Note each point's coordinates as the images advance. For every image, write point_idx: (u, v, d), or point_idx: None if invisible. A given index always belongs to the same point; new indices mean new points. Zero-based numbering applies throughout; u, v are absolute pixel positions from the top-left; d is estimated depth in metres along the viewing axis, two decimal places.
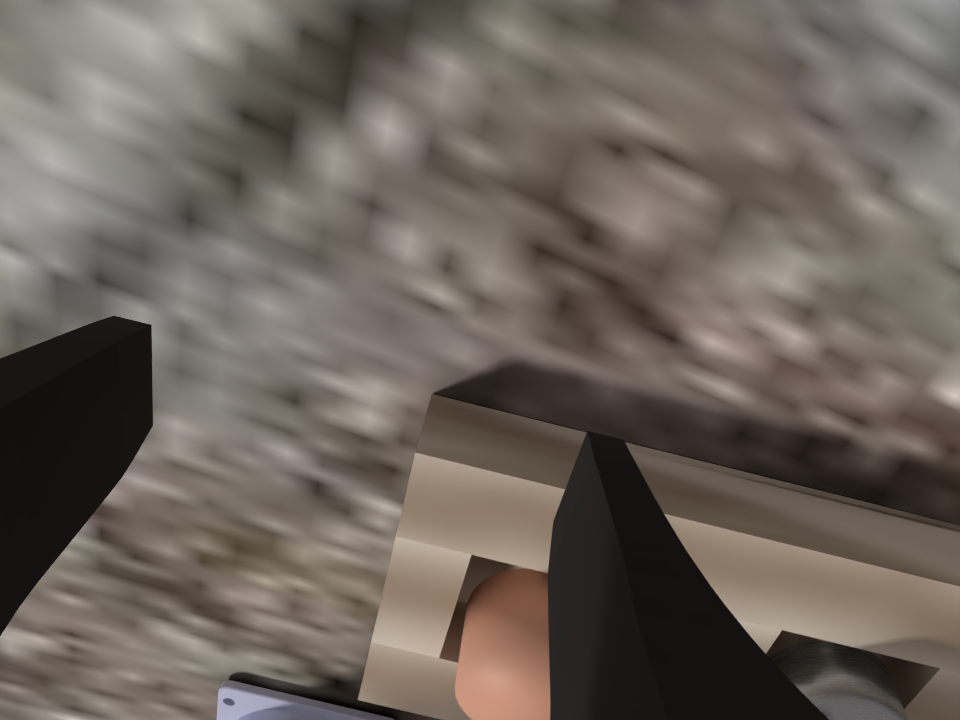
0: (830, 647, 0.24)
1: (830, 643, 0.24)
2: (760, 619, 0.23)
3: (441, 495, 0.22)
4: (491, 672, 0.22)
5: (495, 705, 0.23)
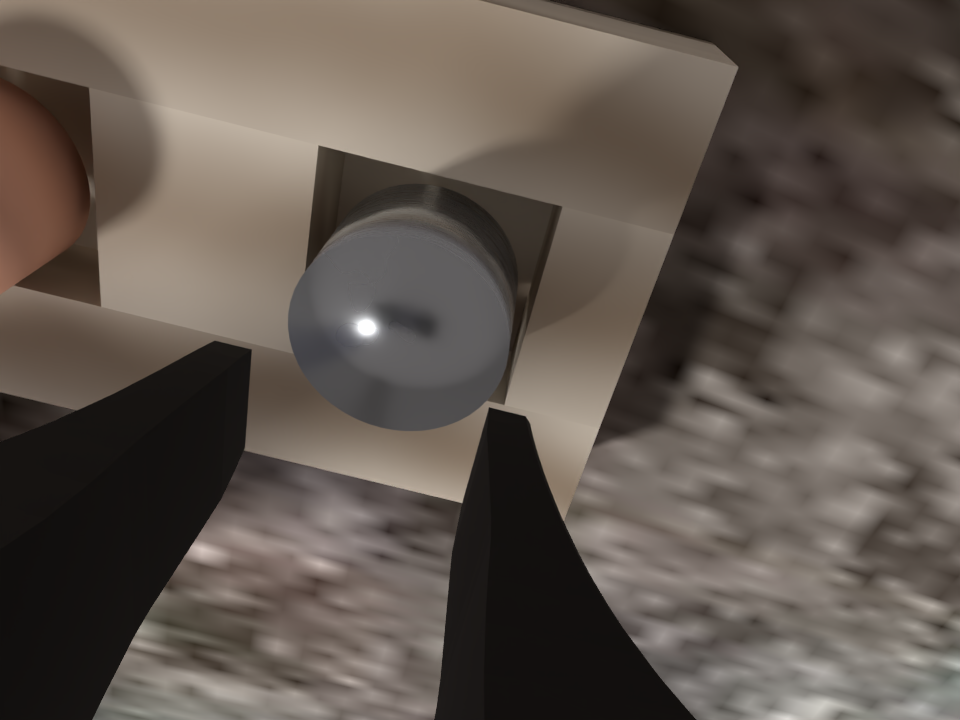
0: (406, 187, 0.16)
1: (410, 184, 0.16)
2: (281, 124, 0.15)
3: None
4: None
5: None
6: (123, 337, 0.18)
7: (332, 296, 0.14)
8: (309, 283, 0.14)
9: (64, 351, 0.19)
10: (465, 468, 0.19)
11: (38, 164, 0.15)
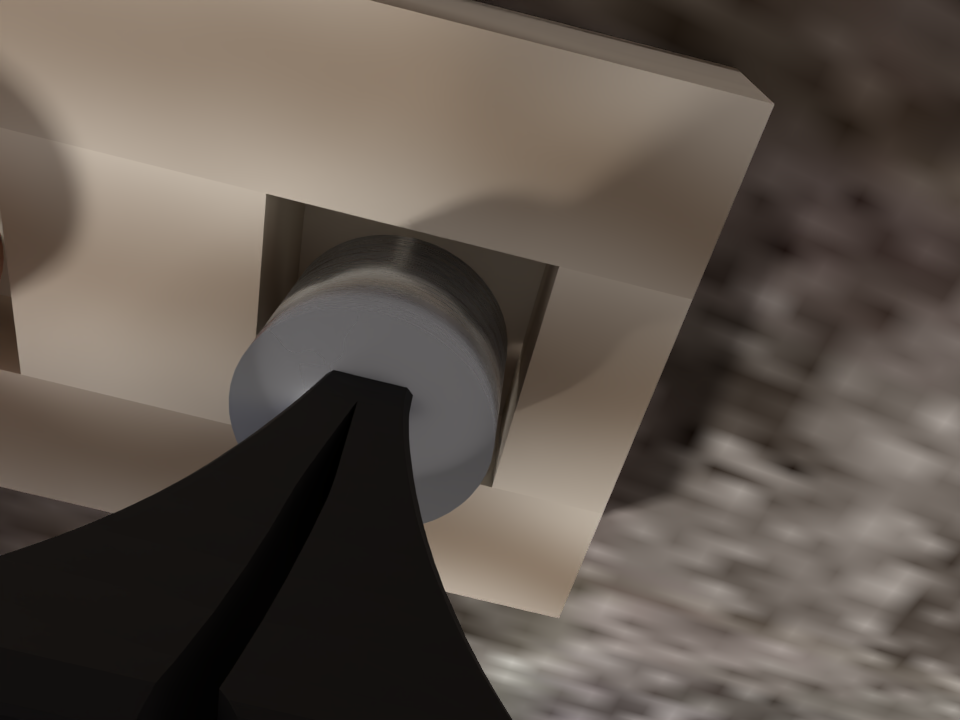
0: (374, 239, 0.14)
1: (379, 236, 0.14)
2: (220, 169, 0.13)
3: None
4: None
5: None
6: (49, 408, 0.16)
7: (280, 378, 0.12)
8: (253, 363, 0.12)
9: None
10: (448, 554, 0.17)
11: None
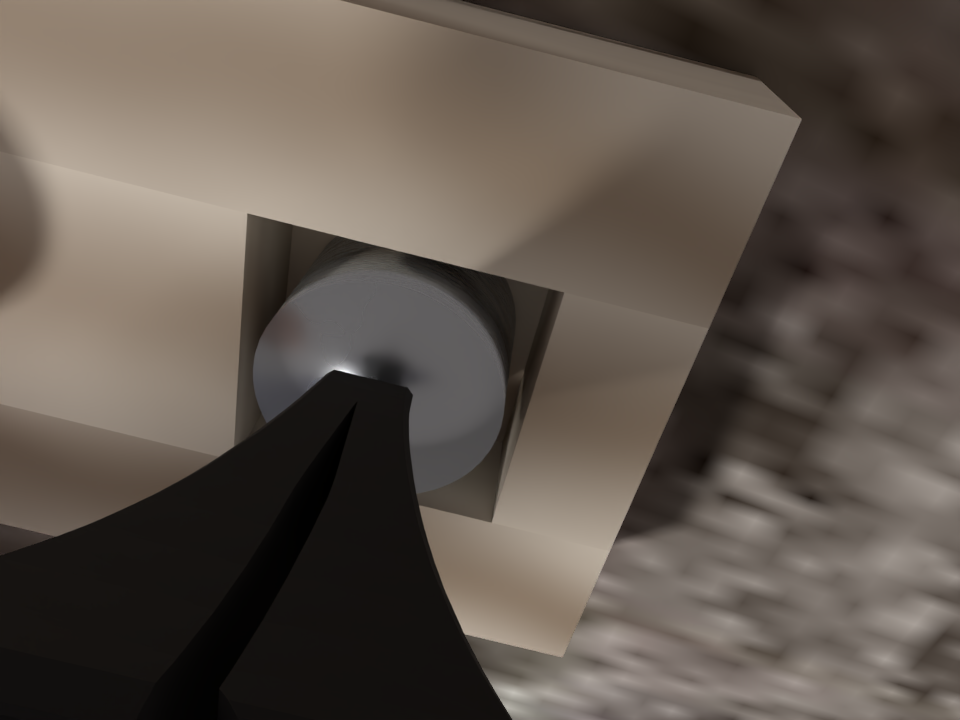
0: None
1: None
2: (197, 187, 0.12)
3: None
4: None
5: None
6: (21, 436, 0.15)
7: (302, 348, 0.13)
8: (277, 334, 0.13)
9: None
10: (445, 591, 0.16)
11: None
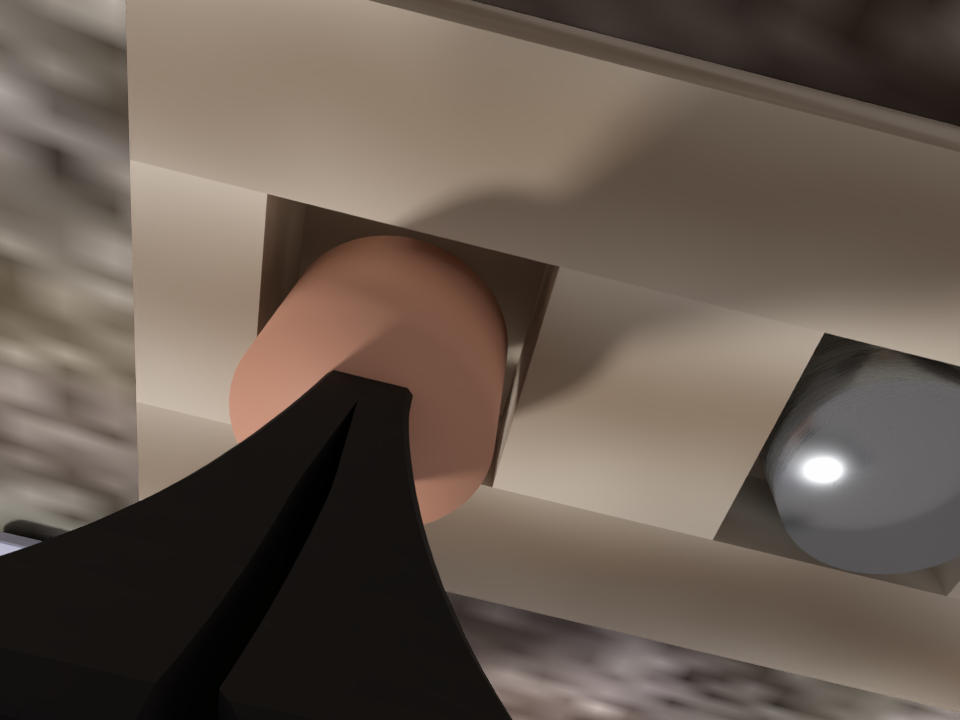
0: None
1: None
2: (785, 310, 0.13)
3: (189, 47, 0.12)
4: (287, 378, 0.12)
5: None
6: (509, 518, 0.16)
7: (845, 449, 0.14)
8: (825, 437, 0.14)
9: (432, 529, 0.17)
10: (873, 655, 0.17)
11: (498, 353, 0.13)
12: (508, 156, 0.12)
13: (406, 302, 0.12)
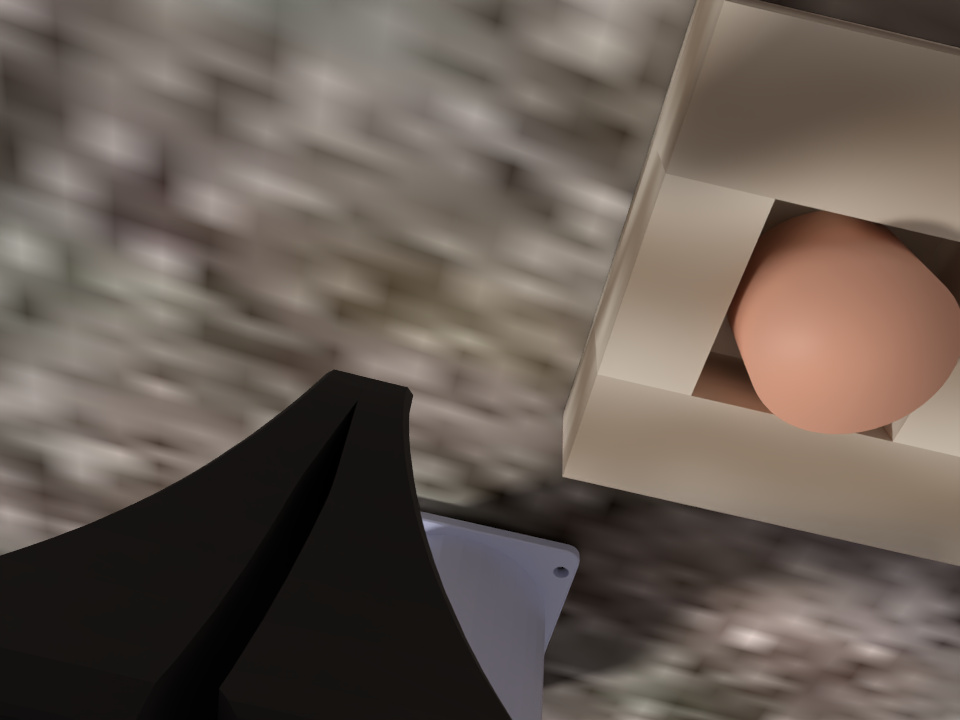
0: None
1: None
2: None
3: (749, 84, 0.15)
4: (809, 313, 0.16)
5: (802, 374, 0.17)
6: (899, 468, 0.19)
7: None
8: None
9: (826, 479, 0.20)
10: None
11: None
12: None
13: (904, 255, 0.16)
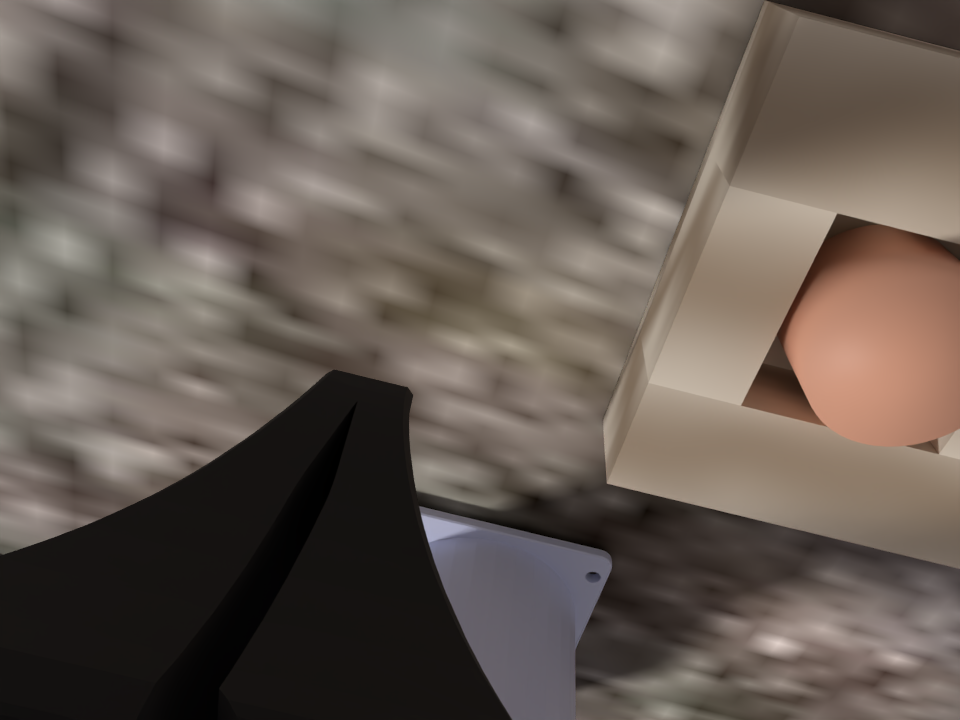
0: None
1: None
2: None
3: (819, 99, 0.15)
4: (869, 327, 0.16)
5: (857, 387, 0.17)
6: (943, 480, 0.19)
7: None
8: None
9: (870, 491, 0.20)
10: None
11: None
12: None
13: None
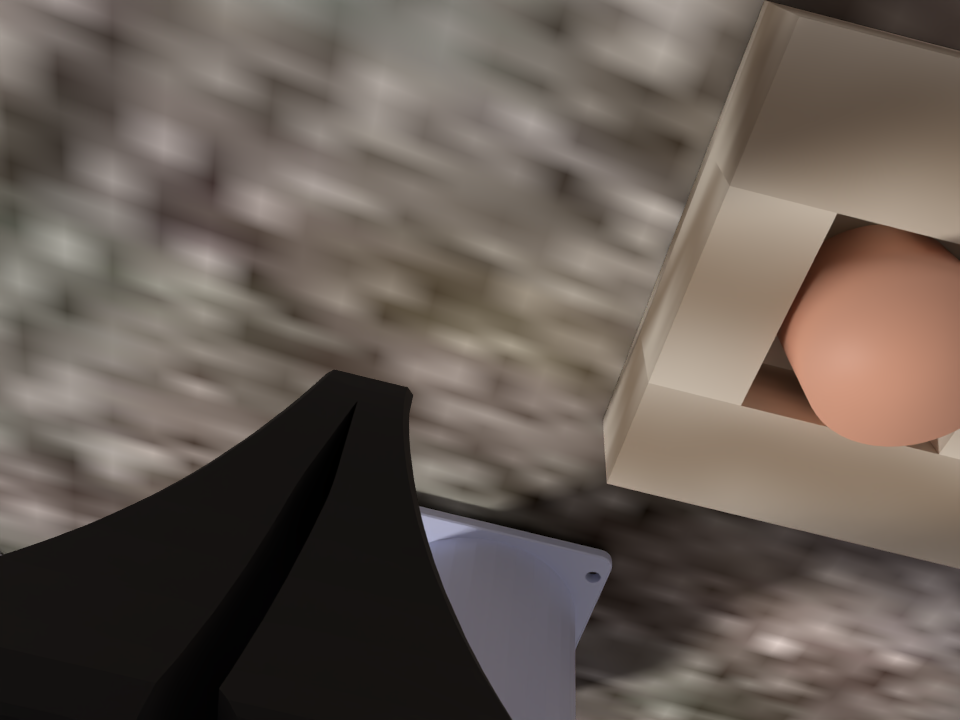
0: None
1: None
2: None
3: (819, 99, 0.15)
4: (869, 327, 0.16)
5: (857, 387, 0.17)
6: (943, 480, 0.19)
7: None
8: None
9: (870, 491, 0.20)
10: None
11: None
12: None
13: None
